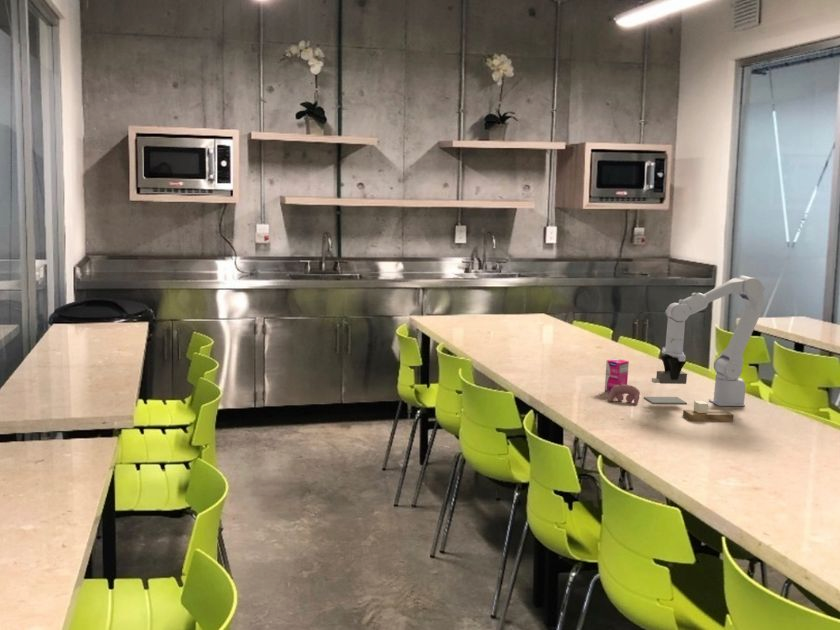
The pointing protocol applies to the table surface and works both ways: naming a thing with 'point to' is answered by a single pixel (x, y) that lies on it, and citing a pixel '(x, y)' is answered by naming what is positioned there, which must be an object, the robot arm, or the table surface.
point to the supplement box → (616, 373)
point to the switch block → (708, 415)
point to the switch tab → (700, 406)
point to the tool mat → (665, 400)
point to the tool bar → (669, 378)
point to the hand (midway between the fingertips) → (671, 378)
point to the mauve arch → (627, 389)
